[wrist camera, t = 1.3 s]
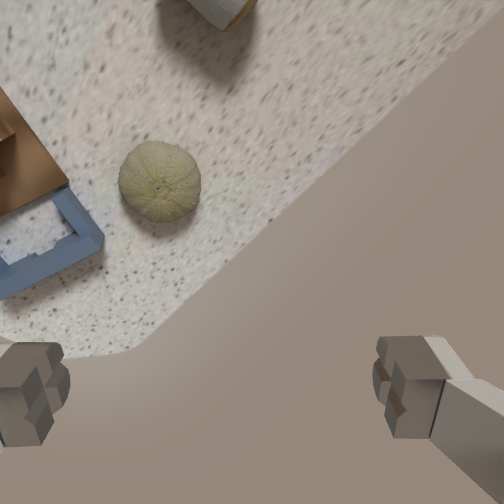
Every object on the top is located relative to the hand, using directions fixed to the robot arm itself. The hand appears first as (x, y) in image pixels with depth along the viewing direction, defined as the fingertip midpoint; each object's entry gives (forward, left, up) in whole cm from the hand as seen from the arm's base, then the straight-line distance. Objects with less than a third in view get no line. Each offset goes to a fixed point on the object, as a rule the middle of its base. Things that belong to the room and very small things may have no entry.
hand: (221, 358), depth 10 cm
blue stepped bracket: (+4, -20, -38) cm, 43 cm away
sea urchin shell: (+5, -4, -38) cm, 38 cm away
